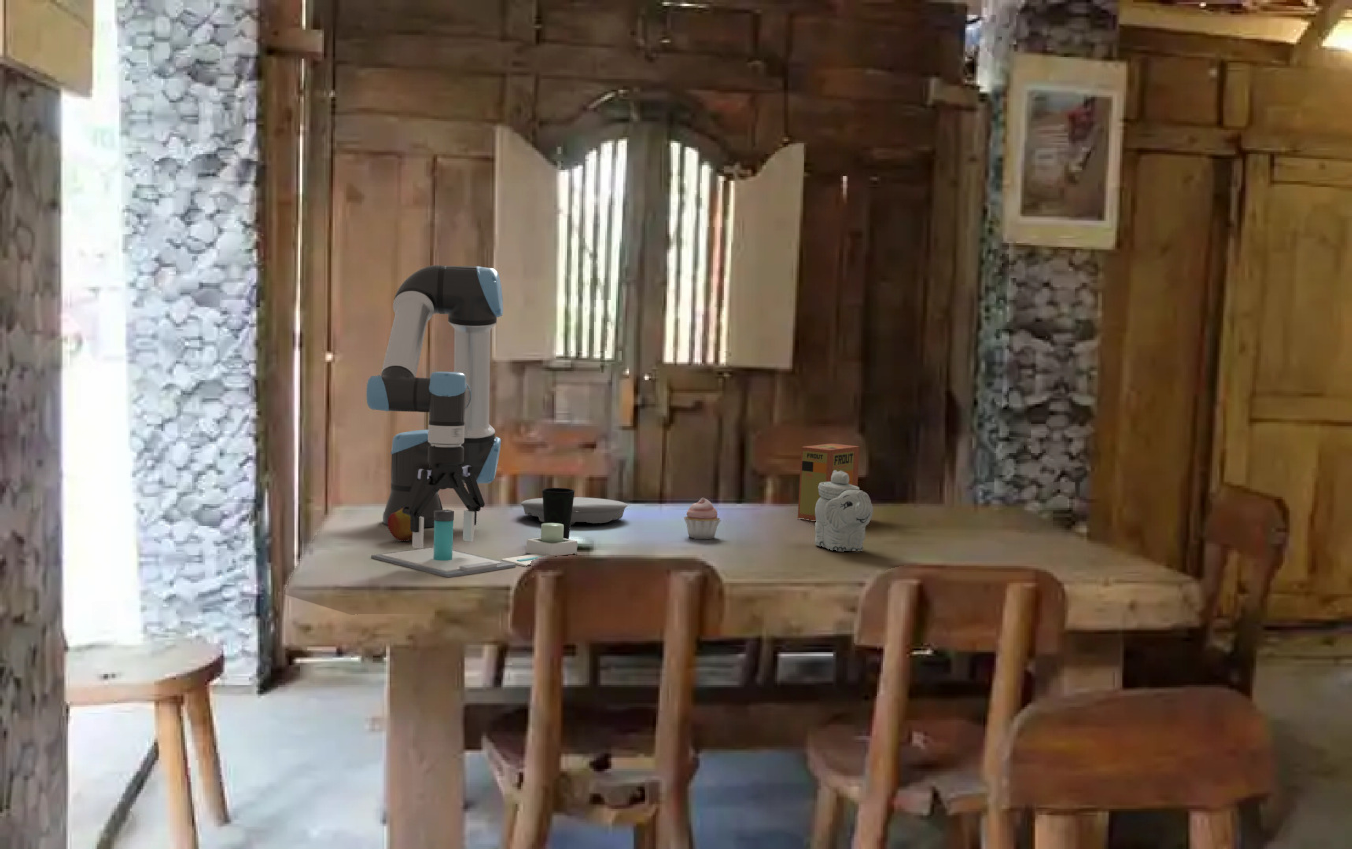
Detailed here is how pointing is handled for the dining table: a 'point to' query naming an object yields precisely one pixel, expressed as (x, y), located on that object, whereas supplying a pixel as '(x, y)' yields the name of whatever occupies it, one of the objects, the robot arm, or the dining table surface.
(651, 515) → the dining table surface
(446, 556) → the teal bottle
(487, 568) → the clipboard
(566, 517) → the cup
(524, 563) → the card
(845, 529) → the white elephant jar
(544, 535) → the button
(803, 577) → the dining table surface
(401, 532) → the apple
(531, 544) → the button box
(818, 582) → the dining table surface
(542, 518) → the flat disc
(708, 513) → the cupcake
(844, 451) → the box
